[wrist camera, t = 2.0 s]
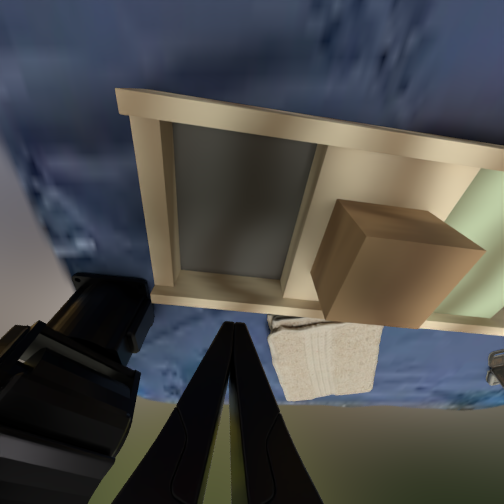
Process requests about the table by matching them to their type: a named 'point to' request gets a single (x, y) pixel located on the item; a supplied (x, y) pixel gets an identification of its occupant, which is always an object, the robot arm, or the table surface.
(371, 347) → the washcloth
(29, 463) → the robot arm
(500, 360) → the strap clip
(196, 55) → the table surface
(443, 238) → the walnut block
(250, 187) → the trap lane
